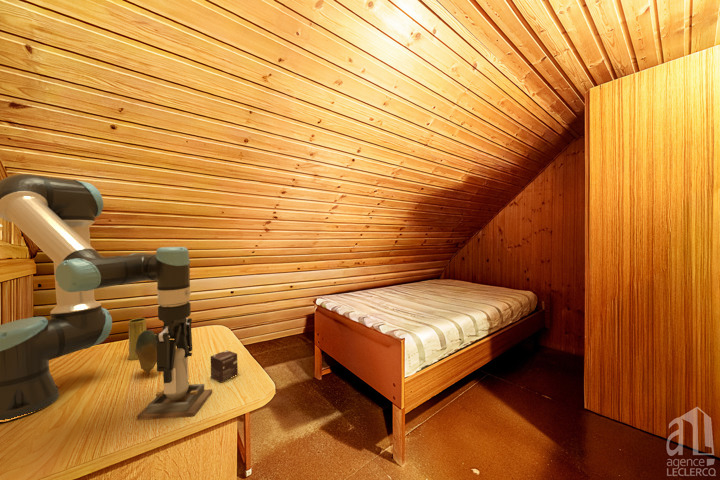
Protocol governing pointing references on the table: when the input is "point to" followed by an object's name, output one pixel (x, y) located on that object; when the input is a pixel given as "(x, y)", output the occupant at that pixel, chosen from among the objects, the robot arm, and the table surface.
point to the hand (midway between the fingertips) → (176, 386)
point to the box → (224, 366)
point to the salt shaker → (179, 376)
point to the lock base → (176, 404)
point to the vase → (135, 335)
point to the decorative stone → (147, 350)
